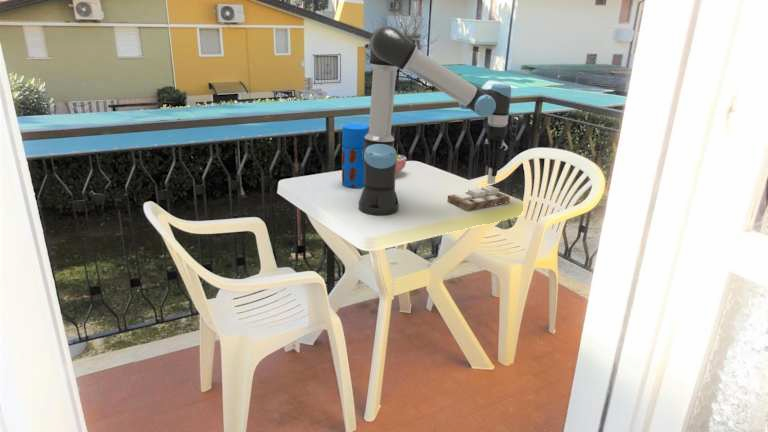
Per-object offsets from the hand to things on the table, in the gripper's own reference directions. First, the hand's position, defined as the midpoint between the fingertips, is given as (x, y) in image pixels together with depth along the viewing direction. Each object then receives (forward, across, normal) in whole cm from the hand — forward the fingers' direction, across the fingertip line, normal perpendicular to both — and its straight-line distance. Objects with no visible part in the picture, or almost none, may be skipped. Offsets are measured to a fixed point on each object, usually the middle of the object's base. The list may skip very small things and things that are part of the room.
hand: (491, 183), depth 214 cm
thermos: (+7, +40, +41) cm, 57 cm away
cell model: (+7, +48, +21) cm, 52 cm away
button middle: (+5, 0, +7) cm, 8 cm away
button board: (+7, -1, +7) cm, 10 cm away
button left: (+6, 0, +14) cm, 15 cm away
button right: (+5, 0, 0) cm, 5 cm away
